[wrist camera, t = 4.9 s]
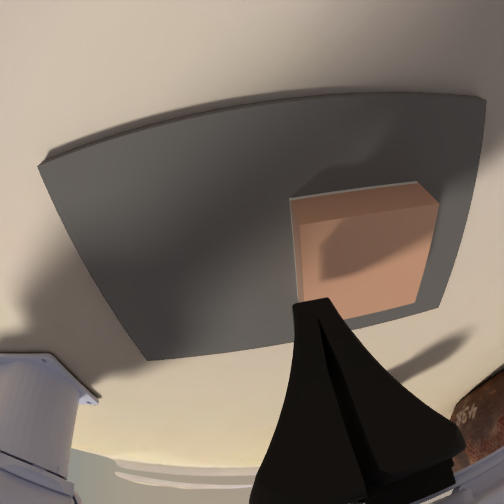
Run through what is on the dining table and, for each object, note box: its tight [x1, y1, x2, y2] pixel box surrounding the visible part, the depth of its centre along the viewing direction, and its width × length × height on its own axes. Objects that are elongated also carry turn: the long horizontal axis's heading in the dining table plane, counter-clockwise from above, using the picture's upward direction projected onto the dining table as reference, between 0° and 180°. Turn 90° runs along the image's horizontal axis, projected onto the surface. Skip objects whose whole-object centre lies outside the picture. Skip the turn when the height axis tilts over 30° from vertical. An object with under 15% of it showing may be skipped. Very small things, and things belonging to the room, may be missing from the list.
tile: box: [289, 181, 439, 320], centre depth 14 cm, size 2×6×6 cm
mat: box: [37, 92, 486, 361], centre depth 15 cm, size 20×14×1 cm
